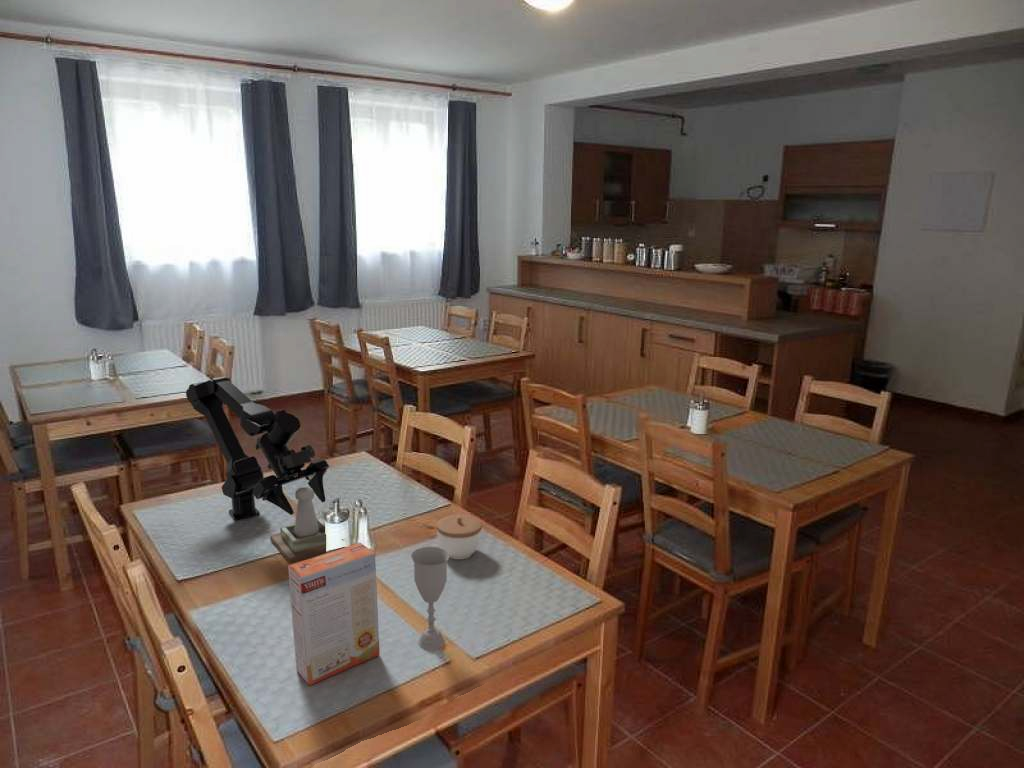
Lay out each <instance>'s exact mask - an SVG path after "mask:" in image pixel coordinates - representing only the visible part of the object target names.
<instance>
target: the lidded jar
mask: <svg viewBox="0 0 1024 768" xmlns="http://www.w3.org/2000/svg"><path fill="white" fill-rule="evenodd" d="M482 529H483V523H482V520H481V519H480V518H478V517H476V516H473V515H470V514H463V513H462V514H460V513H459V514H457V513H456V514H450V515H446V516H444V517H441V518H440V519H439V520H438V521H437V523H436V530H437V532H436V533H437V540H438V545H439V548H441V549H444V550H446V551H447V552H448V553H449V559H452V560H466V559H468V558H470V557H472V555H473V554H474V553H475V552H476V551H477V549H478V548H479V546H480V544H481V538H482Z"/></svg>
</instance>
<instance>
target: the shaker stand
mask: <svg viewBox="0 0 1024 768" xmlns="http://www.w3.org/2000/svg"><path fill="white" fill-rule="evenodd" d="M316 518H317V522H318V526H319V531H318V534H317V535H314V536H310V537H306V538H303V539H299V540H298V538H297V536H296V534H295V532H294V528H295V522H294V523H291V524H287V525H283V526H280V527H279V528H280V532H279V533H274V534H271V535H269V537H270V538H269V539H270V541H271V543H272V544H273V545H274V546H275V547H276V548H277V550H278V551H279V552H280V553H281V554H282V555H283V557H284V559H286V561H287V562H288V563H289V564H290V563H295V562H299V561H301V560H302V561H303V560H305V559H310V558H313V557H317V556H320V555H323V554H326V534H325V523H324V522H325V521H324V520H323V519H322V518H321V517H316Z"/></svg>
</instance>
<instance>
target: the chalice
mask: <svg viewBox="0 0 1024 768" xmlns="http://www.w3.org/2000/svg"><path fill="white" fill-rule="evenodd" d="M410 556H411V560H412V561H413V570H414V571H413V572H414V573H413V574H414V576H413V577H414V578H413V580H414V582H415V586H416V588H417V590H418V592H419V594H420V596H421V598H422V600H423V601H424V602H425V603H427V604H428V607H427V609H426V612H427V614H428V616H427V618H426V621H427V622H428V626H427V627H426V628H424V629H423V630H422V632H421V633H420V636H419V638H418V641H417V643H418V644H417V645H418V646H419V647H420V648H421V649H422V650H426V649H428V650H427V651H433V650H432V649H434V650H438V649H439V648H441V647H443V646H444V645H445V642H446V640H445V638H444V636H443V634H442V632H441V630H440V629H439V628H438V627H436V626H434V624H435V621H436V620H437V618H436V617H435V616H434V614H435V612H436V609H435V607H434V604H435V603H436V602H438V601H439V598H440V597H441V595H442V593H443V591H444V589H445V587H446V583H447V580H448V579H447V578H448V572H447V563H448V560H450V557H449V553H448V552H447V551H446V550H444V549H441V547H436V546H424V547H420V548H417V549H416V550H413V552H412V553H411V555H410Z"/></svg>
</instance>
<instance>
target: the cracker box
mask: <svg viewBox="0 0 1024 768" xmlns="http://www.w3.org/2000/svg"><path fill="white" fill-rule="evenodd" d="M376 565H377V564H376V552H374V551H373V550H371V549H370V548H369V547H368V546H366V545H365V544H364V543H361V542H358V543H355V544H351V545H349V546H348V545H347V547H345V548H341V549H338V550H334V551H330V552H327V553H323V554H320V555H316V556H313V557H310V558H307V559H306V560H305V559H303V560H302V561H301V560H300V561H297V562H294V563H292V564H289V565H288V566H287V568H288V569H287V572H288V582H289V596H290V607H291V617H292V618H291V619H292V630H293V631H292V632H293V642H294V654H295V655H294V656H295V666H296V667H295V668H296V671H297V672H298V674H299V675H300V676H301V678H302V679H303V680H304V681H305V682H306V684H307V685H308V686H312V685H314V684H316V683H319V682H321V681H324V680H325V679H328V678H330V677H332V676H335V675H336V674H337V675H338V674H339V673H341V672H343V671H345V670H348V669H350V668H352V667H355V666H357V665H359V664H362V663H363V662H366V661H369V660H371V659H374V658H376V657H378V656H379V655H380V650H381V649H380V633H379V610H378V609H379V607H378V606H379V605H378V591H377V590H378V589H377V588H378V587H377V586H378V585H377V568H376V567H377V566H376Z"/></svg>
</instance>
